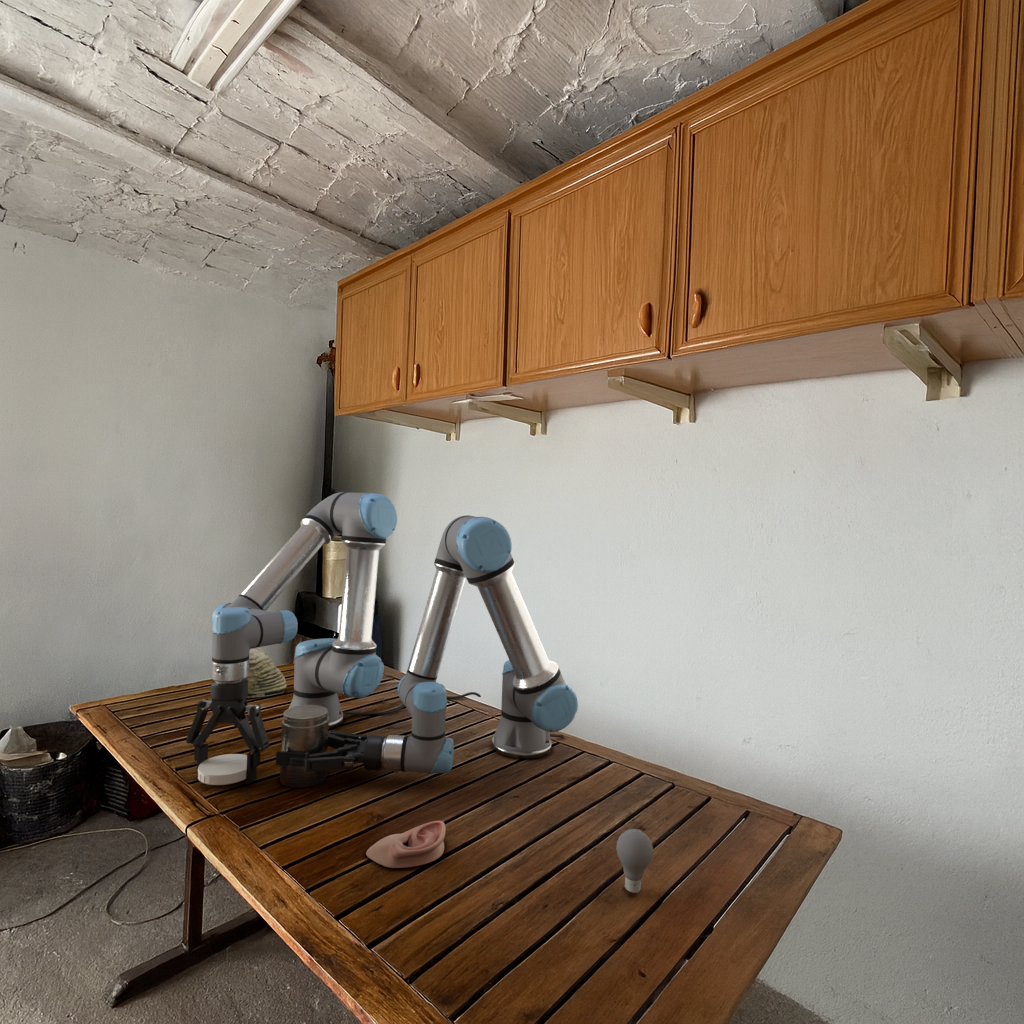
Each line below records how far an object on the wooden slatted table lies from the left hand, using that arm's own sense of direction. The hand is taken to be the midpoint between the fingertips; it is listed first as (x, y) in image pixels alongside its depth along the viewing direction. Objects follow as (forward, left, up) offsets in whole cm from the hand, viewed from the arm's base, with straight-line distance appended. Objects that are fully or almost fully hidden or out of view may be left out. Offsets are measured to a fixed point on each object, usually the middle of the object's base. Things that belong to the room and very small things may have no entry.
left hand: (226, 778), depth 139 cm
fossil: (-35, -51, -1) cm, 61 cm away
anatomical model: (-8, +50, -1) cm, 50 cm away
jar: (-12, +11, -1) cm, 16 cm away
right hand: (-10, +7, +6) cm, 13 cm away
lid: (0, 0, +3) cm, 3 cm away
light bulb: (-26, +86, -1) cm, 90 cm away
